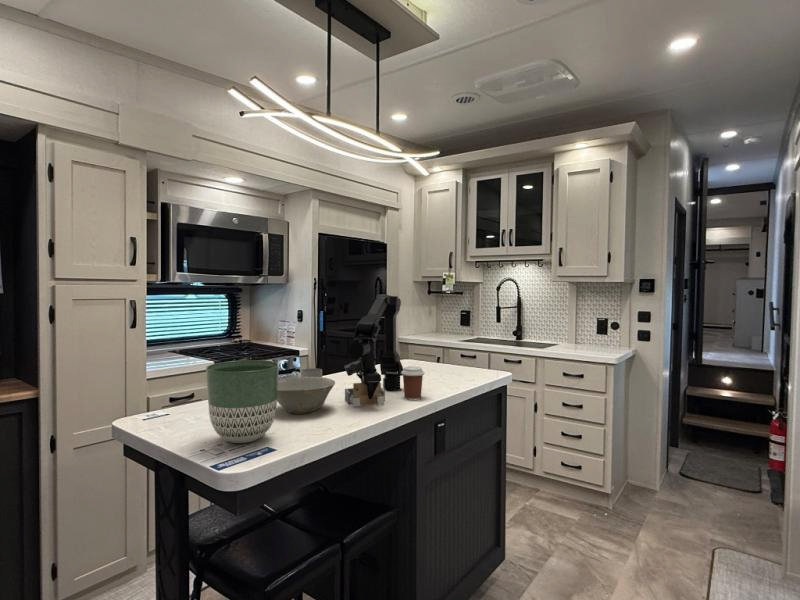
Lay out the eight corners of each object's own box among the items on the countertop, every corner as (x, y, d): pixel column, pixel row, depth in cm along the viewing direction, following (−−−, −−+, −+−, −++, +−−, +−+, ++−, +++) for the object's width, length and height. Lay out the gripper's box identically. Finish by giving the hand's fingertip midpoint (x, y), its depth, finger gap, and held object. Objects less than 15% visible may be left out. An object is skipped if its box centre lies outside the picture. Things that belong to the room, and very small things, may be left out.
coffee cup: (398, 396, 187) (398, 366, 187) (419, 394, 190) (419, 365, 190) (405, 401, 178) (405, 370, 178) (427, 400, 181) (427, 369, 181)
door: (379, 402, 177) (379, 381, 176) (381, 404, 174) (381, 383, 174) (353, 404, 174) (353, 383, 174) (354, 406, 172) (354, 384, 171)
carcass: (380, 396, 186) (380, 386, 186) (387, 404, 174) (387, 394, 174) (344, 398, 182) (344, 388, 182) (349, 407, 170) (350, 396, 170)
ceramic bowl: (255, 416, 158) (255, 386, 158) (293, 400, 180) (293, 374, 180) (312, 423, 151) (312, 392, 150) (345, 405, 172) (345, 378, 172)
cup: (319, 397, 184) (319, 372, 184) (298, 397, 185) (298, 372, 184) (323, 392, 193) (323, 368, 193) (303, 392, 193) (303, 368, 193)
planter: (191, 443, 130) (190, 367, 130) (247, 426, 147) (247, 358, 146) (238, 457, 120) (238, 374, 119) (293, 436, 137) (293, 363, 136)
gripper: (342, 351, 181) (342, 391, 181) (350, 359, 163) (350, 403, 163) (370, 350, 184) (370, 390, 184) (381, 357, 166) (381, 401, 166)
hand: (367, 396), depth 174 cm, fingers open, 9 cm apart
